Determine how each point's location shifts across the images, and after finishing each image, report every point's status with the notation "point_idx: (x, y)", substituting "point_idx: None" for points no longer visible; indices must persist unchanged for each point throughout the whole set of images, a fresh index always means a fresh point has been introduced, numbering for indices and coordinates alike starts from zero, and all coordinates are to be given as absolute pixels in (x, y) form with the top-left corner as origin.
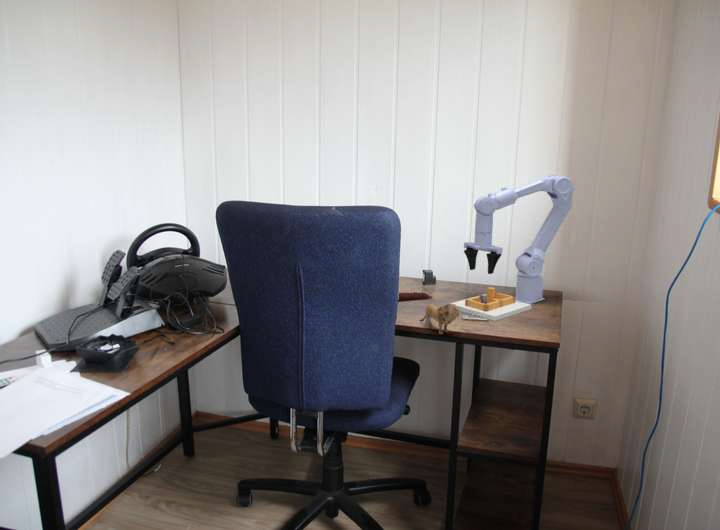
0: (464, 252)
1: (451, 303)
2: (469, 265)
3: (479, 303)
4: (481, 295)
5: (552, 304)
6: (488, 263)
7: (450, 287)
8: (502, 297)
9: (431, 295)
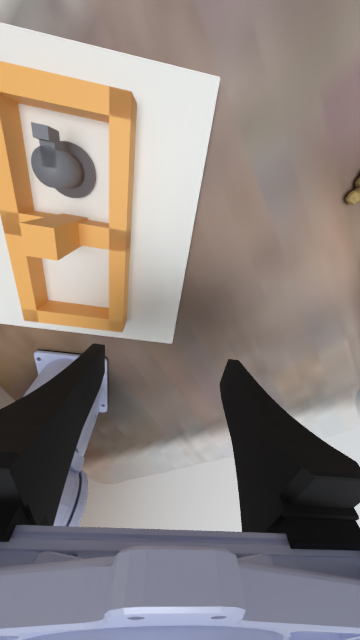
0: (348, 458)
1: (212, 88)
2: (249, 375)
3: (23, 68)
4: (37, 129)
5: (6, 384)
6: (66, 386)
7: (311, 361)
8: (78, 309)
9: (353, 195)
